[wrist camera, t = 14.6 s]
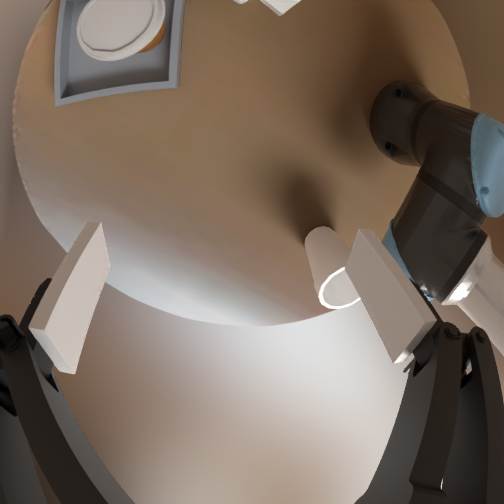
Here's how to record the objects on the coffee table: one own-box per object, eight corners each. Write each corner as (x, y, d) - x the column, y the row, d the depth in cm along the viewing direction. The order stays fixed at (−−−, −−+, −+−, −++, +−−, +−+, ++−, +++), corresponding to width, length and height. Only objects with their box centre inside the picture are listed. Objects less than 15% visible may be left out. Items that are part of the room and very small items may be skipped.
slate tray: (188, -22, 21) (186, -30, 18) (179, 87, 31) (176, 87, 28) (71, 1, 18) (61, -3, 15) (66, 103, 28) (55, 106, 26)
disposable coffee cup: (98, 40, 23) (57, 33, 14) (148, -7, 21) (124, -35, 11) (139, 76, 29) (110, 78, 19) (192, 29, 26) (184, 9, 16)
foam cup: (286, 245, 50) (306, 295, 40) (322, 209, 46) (353, 254, 36) (318, 267, 54) (341, 315, 44) (351, 236, 51) (382, 280, 41)
